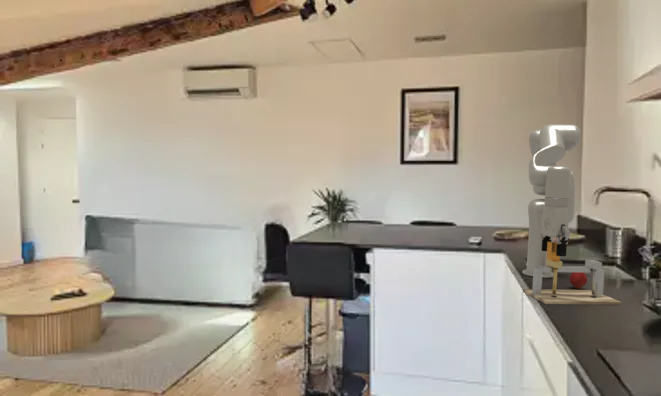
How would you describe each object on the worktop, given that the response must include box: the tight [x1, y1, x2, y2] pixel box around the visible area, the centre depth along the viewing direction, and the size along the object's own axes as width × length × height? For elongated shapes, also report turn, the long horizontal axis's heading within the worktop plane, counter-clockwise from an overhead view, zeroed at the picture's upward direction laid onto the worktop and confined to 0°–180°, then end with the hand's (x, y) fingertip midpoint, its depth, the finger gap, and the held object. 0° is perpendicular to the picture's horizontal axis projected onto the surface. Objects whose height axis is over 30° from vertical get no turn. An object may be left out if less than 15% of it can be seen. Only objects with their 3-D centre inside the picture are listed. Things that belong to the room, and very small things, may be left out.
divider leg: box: [546, 241, 563, 294], centre depth 178 cm, size 5×3×17 cm, turn 5°
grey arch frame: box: [531, 259, 606, 297], centre depth 178 cm, size 5×24×12 cm, turn 95°
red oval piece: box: [569, 272, 588, 290], centre depth 195 cm, size 6×6×8 cm
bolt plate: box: [522, 288, 622, 306], centre depth 180 cm, size 16×26×1 cm, turn 95°
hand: (553, 253), depth 178 cm, fingers open, 9 cm apart
